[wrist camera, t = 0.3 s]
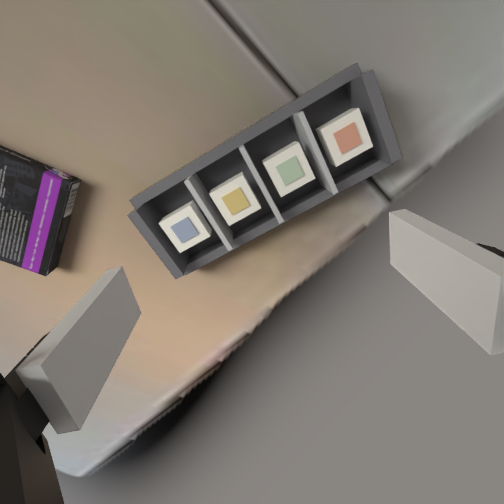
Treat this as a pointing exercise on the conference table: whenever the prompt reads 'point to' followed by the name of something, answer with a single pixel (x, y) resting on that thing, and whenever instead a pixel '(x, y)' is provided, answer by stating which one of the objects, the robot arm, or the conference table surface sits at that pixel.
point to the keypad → (250, 163)
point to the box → (33, 211)
